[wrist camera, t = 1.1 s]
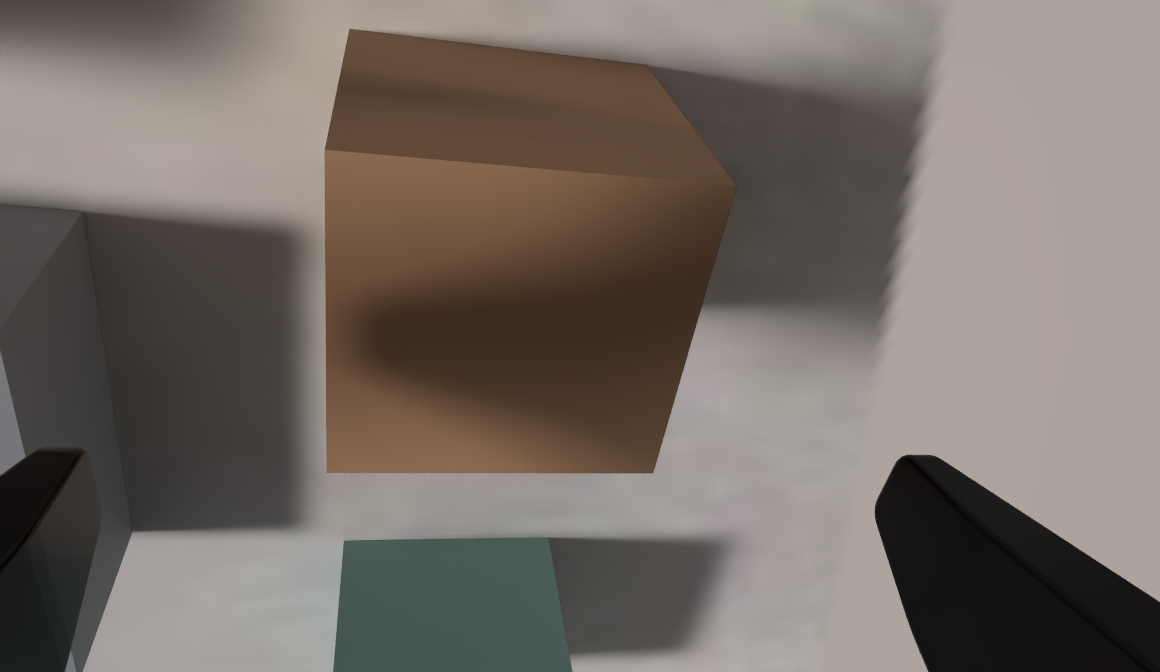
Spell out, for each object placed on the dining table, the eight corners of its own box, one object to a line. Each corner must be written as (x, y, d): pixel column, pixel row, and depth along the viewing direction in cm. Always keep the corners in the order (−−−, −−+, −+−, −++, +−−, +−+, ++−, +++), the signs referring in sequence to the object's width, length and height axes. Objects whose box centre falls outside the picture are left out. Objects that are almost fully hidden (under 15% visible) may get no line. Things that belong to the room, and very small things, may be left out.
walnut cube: (595, 303, 17) (652, 473, 13) (346, 291, 16) (327, 472, 12) (645, 63, 15) (736, 185, 11) (349, 28, 13) (324, 149, 9)
